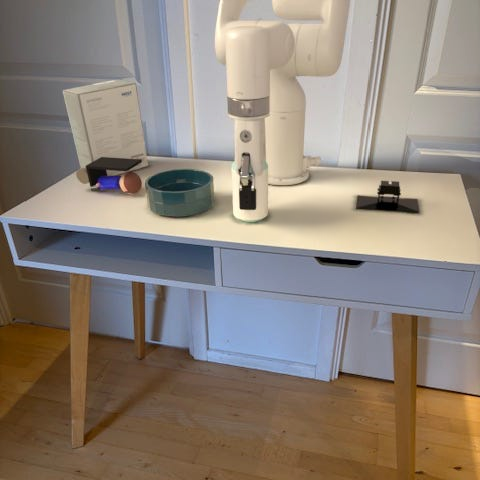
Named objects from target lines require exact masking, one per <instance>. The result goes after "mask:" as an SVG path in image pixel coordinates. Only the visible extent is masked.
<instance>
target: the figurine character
mask: <svg viewBox="0 0 480 480" xmlns="http://www.w3.org/2000/svg"><path fill="white" fill-rule="evenodd" d="M141 162H142V160H141V159H126V158H109V157H101V158H99V159H97V160H95V161H93V162H92V163H90V164H88V165H86V168H81V167H80V168H79V169H77V170H76V173H75V177H76V178H77V180H78V181H79V182H80V183H81V184H83V185H87V184H89V187H90V189H89V190H90V191H101V190H121V191H122V192H124V193H125V194H127V195H135V194H137V193H139V192H140V191H141V189H142V186H143V181H142V178H141V177H140V175H139V174H138V173H137V172H134V171H129V172H125V173H122V174H121V175H116V176H107V171H106V170H114V171H128V170H130V169H132V168H133V167H135V166H137V165H138V164H140V163H141ZM95 186H96V187H95Z"/></svg>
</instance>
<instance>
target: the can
mask: <svg viewBox="0 0 480 480" xmlns="http://www.w3.org/2000/svg"><path fill="white" fill-rule="evenodd" d="M233 159H234V161H233V162H232V164H231V189H232V191H231V192H232V215H233V217H234V218H236V219H238V220H239V221H241V222H245V223H254V222H259V221H262V220H263V219H265V218H266V217H267V216H268V215H269V184H268V164H267V162H266V161H265V157H264V167H263V173H262V174H261V175H260V176H259V175H258V174H255V189H256V209H255V210H241V209H240V207H239V185H240V175H238V174H237V173H236V166H235V157H234V158H233ZM239 170H240V169H239ZM249 173H253V169H249ZM239 174H240V173H239ZM249 179H250V180H252V177H249Z"/></svg>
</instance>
